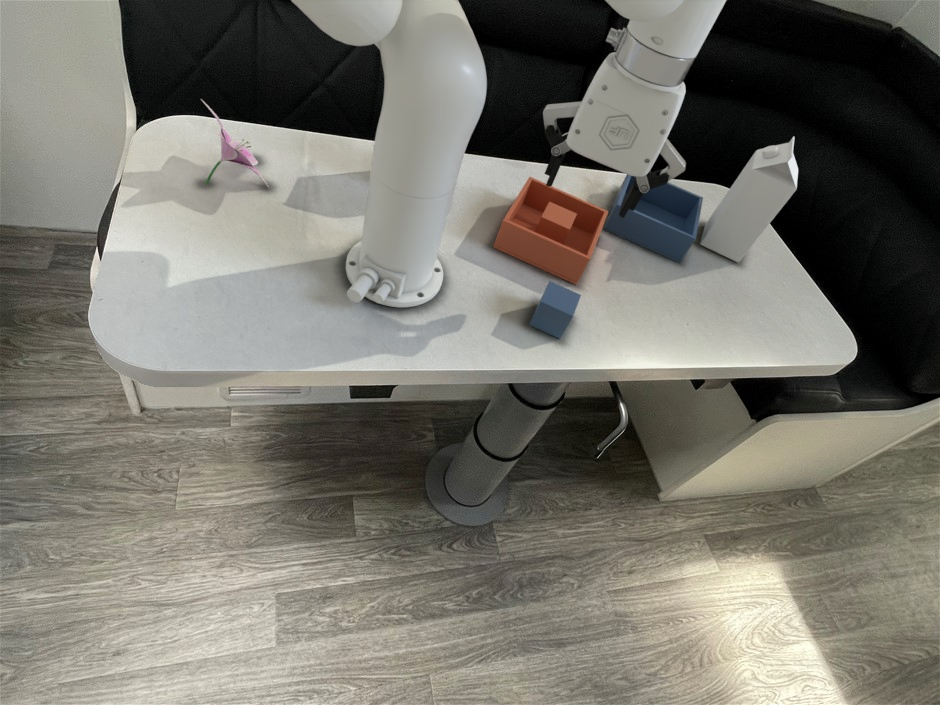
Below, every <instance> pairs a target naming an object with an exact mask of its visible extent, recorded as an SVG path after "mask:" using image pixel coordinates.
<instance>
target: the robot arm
mask: <svg viewBox="0 0 940 705" xmlns="http://www.w3.org/2000/svg"><path fill="white" fill-rule="evenodd" d="M290 1H291V3H293V4H294V5H295V6H296V7H297V8H298V9H299V10H300V11H301V12H302V13H303V14H304V15H305V16H306V17H307V18H308V19H309V20H310V21H311V22H312V23H314V25H316V27H317V28H318V29H320V30H321V31H322V32H323V33H325V34H327V35H328V36H329V37H331V38H332V39H333V40H335V41H338V42H340V43H343V44H345V45H349V46H355V47H365V46H371V45H375V46H376V47H377V49H378V50H379V52H380V53H379V54H380V58H381V65H382V66H381V67H382V71H383V78H384V79H383V80H384V81H383V83H384V84H383V87H384V88H383V99H382V105H381V110H380V115H379V119H378V123H377V126H376V131H375V137H374V142H373V143H374V144H373V149H372V155H371V156H372V157H371V164H370V166H371V167H370V173H369V180H368V181H369V183H368V189H367V195H366V196H367V197H366V205H365V210H364V211H365V212H364V219H363V226H362V232H361V233H362V234H361V240H359V241H358V242H356V243H355V244H354V245H353V246H352V247H351V249H350V250H349V252H348V253H347V255H346V261H345V272H346V277H347V279H348V282H350V284H351V286H350V287H349V288H348V290H347V291H346V296H347V298H348V299H349V300H350V301H351V302H353V303H355V304H356V303H360V302H362V301H363V299H364V298H366V299H368V300H370V301H372V302H374V303H376V304H379V305H383V306H386V307H391V308H413V307H417V306H420V305H423V304H425V303H428V302H429V301H431V300H432V299H433V298H434V297H435V296H436V295H438V293H439V291H440V290H441V287H442V284H443V281H444V269H443V266H442V263H441V261H440V260H439V258H438V253H439V249H440V246H441V242H442V239H443V235H444V231H445V227H446V223H447V219H448V217H449V216H448V215H449V213H450V208H451V204H452V201H453V197H454V194H455V190H456V186H457V181H458V178H459V174H460V170H461V166H462V162H463V160H464V156H465V153H466V150H467V147H468V144H469V142H470V140H471V138H472V135H473V133H474V131H475V129H476V127H477V124H478V122H479V120H480V117H481V115H482V113H483V109H484V106H485V104H486V99H487V98H486V97H487V89H488V78H487V70H486V64H485V60H484V56H483V54H482V51H481V48H480V46H479V44H478V41H477V38H476V36H475V34H474V31H473V29H472V27H471V25H470V23H469V20H468V17H467V16H466V14H465V11H464V9H463V7H462V5H461V3H460V2H459V0H290ZM604 1H605V2H606V3H607V4H608V5H609V6H610V7H611V9H613V10H614V11H615V12H616V13H617V14H619V16H622V17H623V18H625V19H628V20H629V21H628V23H627V26H626V27H623V28H622V29H620V28H618V29H615V28H613V27H611V28H610V29H609V31H608V34H607V37H606V39H605V42H606V43H608V44H611V47H613V48H614V49H613V51H614V52H610V53H609V54H608V55H607V56H606V58H604V60H603V61H602V63H601V64H600V66H599V68H598V69H597V71H596V73H595V75H594V76H593V78H592V80H591V82H590V84H589V86H588V88H587V90H586V92H585V93H584V96H583V98H582V100H581V101H571V102H560V103H551V104H546V105H545V107H544V109H543V111H542V118H543V126H544V135H545V138H546V140H547V142H548V144H549V147H550V153H551V156H550V159H549V162H548V163H547V166H546V169H545V171H544V175H546V176H549V177H548V179H547V182H545V183H546V186H548V187H550V186H552V187H553V184H554V182H555V179H556V178H557V175H558V173H559V170H560V168H561V166H562V163H563V161H564V159H565V157H566V154H567V152H569V151H573V152H574V153H576V154H578V155H581V156H582V157H585V158H587V159H589V160H592V161H595V162H597V163H599V164H601V165H604V166H606V167H608V168H611V169H613V170H615V171H618V172H620V173H623V174H626V175H627V174H628V175H631V176H635V177H636V179H635V180H634V182H633V184H632V185H631V187H630V189H629V191H628V193H627V195H626V196H625V198H624V200H623V202H622V204H621V208H620V212H619V215H620V217H622V218H624V217H625V215H626V213H627V212H628V210H631V211H634V209H635V207H636V206H637V204H638V202H639V200H640V199H641V197H642V195H643V193H646V192H648V191H649V189H652V188H656V187H659V186H662V185H665V184H667V183H668V182H670V181H671V180H674V179H675V178H676V177H678V176H679V175H682V173H684V172H685V171H686V166H687V162H686V160H685V159H684V158H683V156H682V155H681V154H680V153H679V152H678V151H677V149H676V148H675V146H674V145H673V144H672V143H671V141H670V140H669V139H668V137H669V135H670V132H671V130H672V129H673V127H674V125H675V122H676V120H677V117H678V116H679V114H680V113H679V112H680V110H681V108H682V104H683V102H684V99H685V95H686V92H687V90H686V84H685V82H684V80H685V79H686V77H687V75H688V73H689V71H690V70H691V67H692V65H693V64H694V62H695V60H696V58H697V56H698V54H699V52H700V50H701V49H702V46H703V44H704V43H705V42H706V39H707V37H708V35H709V34H710V31H711V30H712V29H713V26H714V24H715V23H716V21H717V19H718V17H719V15H720V13H721V12H722V10H723V8H724V6H725V4H726V2H727V0H604ZM567 118H573V120H572V122H571V125H570V127H569V130H568V132H565V133H563V134H562V132H561V130H560V128H559V125H558V122H557V121H558V120H557V119H567ZM659 155H660V156H661V157H662V158H663V160H664V161H665V162H666V163H667V164H668V165H666V167H665V168H661V169H659V170H655V171H651V169H652V168H653V166H654V164H655V162H656V161H657V159H658V157H659Z"/></svg>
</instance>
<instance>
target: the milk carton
mask: <svg viewBox="0 0 940 705" xmlns="http://www.w3.org/2000/svg"><path fill="white" fill-rule="evenodd" d="M794 146H795V136H792V138H791V139H790V140H789V141H788V142H784V143H780V144H776V145H775V144H773V145H768V146H766V147H764V148H759V149H757V150H755V151H754V152H753V154H752V156H751V157H750V159H749V160H748V162H747V163H746V165H745V166H744V167H743V169H742V170H741V172H740V173H739V175H738V176H737V178H736V179H735V180H734V182H733V184H731V186H730V188H729V189H728V190H727V192H726V194H725V195H724V196H723V198H722V199H721V201H720V202H719V204H718V205H717V207H716V208H715V209H714V211H713V213H712V214H711V216H710V217H709V218H708V219H707V221H706V223H705V225H704V228H703V231H702V234H701V238H700V240H699V245H700V246H703V247H704V248H707V249H709V250H711V251H713V252H715V253H717V254H719V255H721V256H723V257H725V258H727V259H730V260H732V261H734V262H735V263H738V264H739V263H740V262H741V261H742V259H743V258H744V257H745V255H746V254H748V252H749V250H750V249H751V248H752V246H754V244H755V243H756V241H758V239H759V238H760V236H761V235H762V234H763V233H764V231H765V230H766V229H767V228H768V226H769V225H770V224H771V222H772V221H773V220H774V219H775V218H776V216H777V215H778V214H779V213H780V211H781V210H782V209H783V207H784V206H785V205H786V204H787V203H788V201H789V200H790V199H791V197H792V196H793V194H794V193H795V192H796V191H797V190H798V189H797V188H798V178H799V167H798V164H797V163H798V162H797V160H796V158H795V154H794Z"/></svg>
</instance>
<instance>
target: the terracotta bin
mask: <svg viewBox="0 0 940 705" xmlns="http://www.w3.org/2000/svg"><path fill="white" fill-rule="evenodd" d="M546 183H547V182H543V181H541V180H538V179H537V178H534V177H532V176H529V177H528V178H527V180H526V182H525V184H523V187H522V188H521V190H520V191H519V193H518V195H517V196H516V198H515V199H514V201H513V202H512V204H511V206H510V207H509V209H508V211H507V213H506V214H505V216H504V218H503V219H502V220H501V221H502V222H501V224H500V227H499V230H498V232H497V236H496V238H495V241H494V244H493V249H496V250H498V251H500V252H503V253H505V254H506V255H509V256H510V257H511V256H512V257H514V258H516V259H518V260H519V261H522V262H524V263H527V264H529V265H532V266H534V267H535V268H538V269H540V270H542V271H544V272H547V273H549V274H551V275H553V276H555V277H558V278H560V279H562V280H565V281H567V282H569V283H571V284H573V285H576V286H577V285H578V283H579V281H580V279H581V278H582V275H583V274H584V272H585V270H586V268H587V266H588V264H589V262H590V261H591V258H592V255H593V253H594V250H595V249H596V245H597V243H598V240H599V237H600V235H601V232H602V230H603V227H604V226H605V225H604V224H605V223H606V221H607V218H608V214H609V211H608V210H607V209H604V208H602V207H600V206H598V205H595V204H594V203H591V202H589V201H586V200H584V199H581V198H579V197H577V196H575V195H573V194H571V193H568V192H567V191H564V190H562V189H560V188H557V187H554V186H553V185H552V186H550V187H548V186H546ZM549 202H552V203H554V204H556V205H558V206H561V207H563V208H565V209H567V210H570V211H572V212H574V213H576V214H577V215H576V217H575V220H574V222H573V224H572V226H571V228H570V231H569V233H568V235H567V237H566V239H565V241H564V243H563V244H560V243H558V242H556V241H554V240H551V239H549V238H547V237H545V236H543V235H540V234H538V233H536V232H535V231H536V228H537V226H538V223H539V221H540V219H541V216H542V214H543V213H544V211H545V209H546V207H547V205H548V203H549Z"/></svg>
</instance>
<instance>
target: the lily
mask: <svg viewBox="0 0 940 705" xmlns="http://www.w3.org/2000/svg"><path fill="white" fill-rule="evenodd" d="M200 101H202V103H203V105H204V106H206V108H207V109H208V110H209V111H210V113H211V114H212V115H213V116H214V118H215V119H216V121H217V122H218V124H219V126H220V131H218V132H217V133H218V136H219V137H220V158H219V160H218V161H217V163H216V164H215V165H214V167H213V168H212V169H211V171H210V173H209V175H208V177H207V179H206V181H205V184H206V185H209V184H210V180H211V178H212V177H213V175H214V173H215V171H216V169H217V168H218V167H219V166H220V164H221V163H223V162H225V161H226V162H230V163H235V164H238V165H242V166H244V167H246V168H248V169H250V170H251V171H253V172H254V173H255V175H257V176H258V177H259V178H260V179H261V180H262V182H263V183H264V184H265V185H266V186H267V187H269V185H268V183H267V182H266V181H265V179H264V177H263V174H262V172H261V171H260V170H259V169H258V168H256V167H255V166H256V165H258V164H259V162H258V160H257V159H256V157H255V156H254V154H253V153H252V152H251V151H250V150H249V149H248V146H246V145H248V144H250V142H249V141H246V142H244V141H245V138H244V139H242V141H238V140H234V138H233V137H232V136H231V134H230V133H229V132H228V130H227V129H226V128H225V127H224V126H223V123H222V121H221V119H220V117H219V116H218V115H217V113H215V111H214V110H213V109H212V108H211V107H210V106H209V105H208V104H207V103H206V102H205V101H204V100H203V99H202V98H200ZM243 142H244V143H243Z"/></svg>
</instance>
